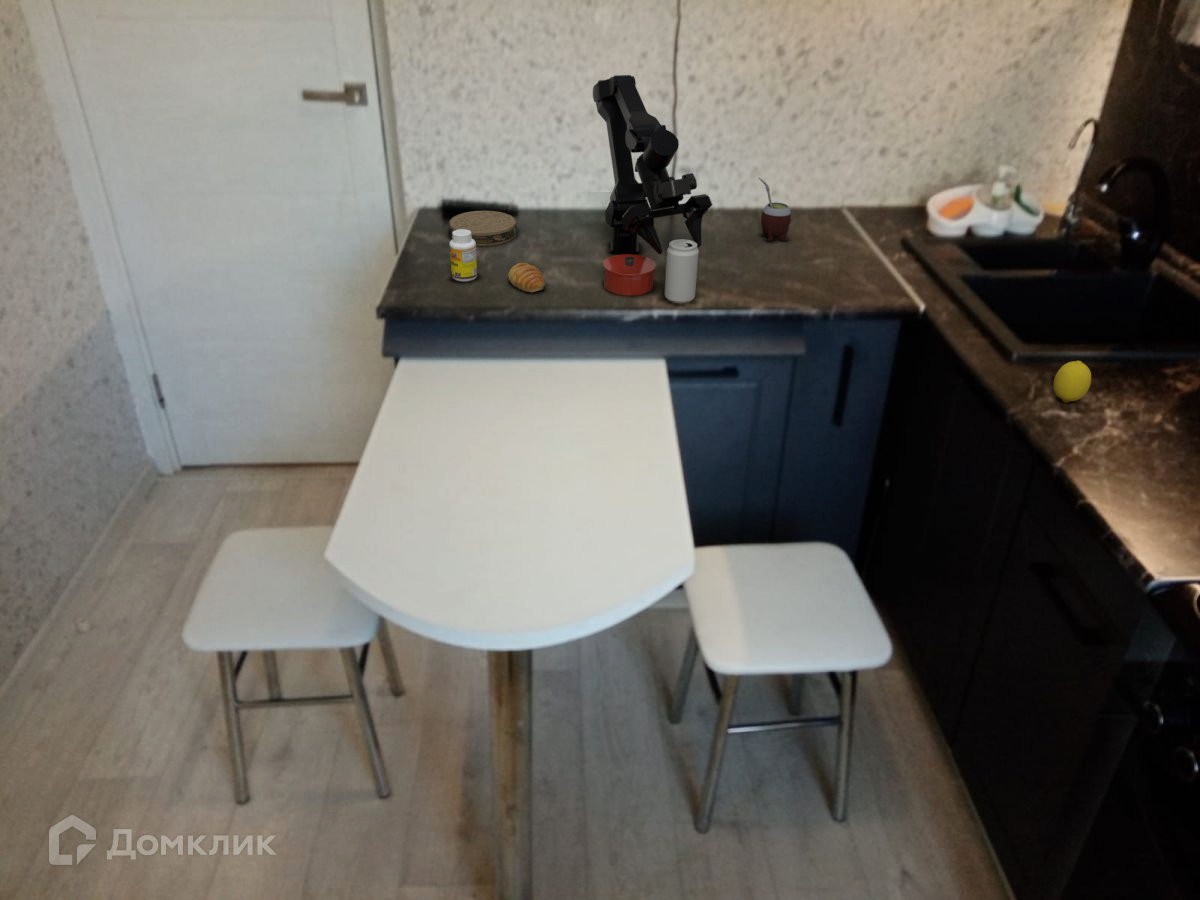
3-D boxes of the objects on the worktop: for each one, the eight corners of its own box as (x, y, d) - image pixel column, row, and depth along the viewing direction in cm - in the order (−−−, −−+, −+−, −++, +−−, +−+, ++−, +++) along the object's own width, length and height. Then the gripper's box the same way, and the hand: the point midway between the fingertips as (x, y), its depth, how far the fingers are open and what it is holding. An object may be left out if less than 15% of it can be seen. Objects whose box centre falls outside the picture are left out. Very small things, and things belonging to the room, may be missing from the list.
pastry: (553, 290, 193) (553, 273, 191) (524, 297, 190) (524, 280, 188) (532, 275, 199) (532, 258, 197) (504, 281, 196) (504, 264, 194)
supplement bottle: (448, 274, 199) (445, 229, 193) (473, 271, 201) (470, 226, 195) (456, 284, 194) (452, 238, 189) (481, 280, 196) (478, 234, 191)
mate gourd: (792, 236, 223) (801, 175, 214) (779, 246, 217) (788, 183, 209) (764, 230, 226) (771, 169, 218) (750, 239, 220) (758, 177, 212)
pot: (599, 278, 199) (599, 258, 196) (644, 274, 201) (645, 255, 199) (611, 297, 190) (612, 277, 188) (659, 293, 193) (660, 273, 190)
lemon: (1041, 394, 159) (1055, 353, 155) (1072, 393, 160) (1086, 353, 156) (1057, 410, 155) (1072, 369, 150) (1088, 410, 155) (1104, 368, 151)
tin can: (480, 218, 229) (480, 206, 228) (529, 232, 222) (529, 220, 220) (436, 235, 218) (435, 223, 217) (485, 250, 211) (485, 238, 209)
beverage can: (692, 306, 187) (697, 250, 181) (662, 303, 188) (665, 247, 182) (696, 294, 193) (701, 239, 186) (666, 291, 194) (669, 236, 187)
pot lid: (597, 260, 197) (597, 251, 196) (646, 256, 199) (647, 247, 198) (610, 280, 188) (611, 270, 187) (662, 276, 190) (663, 266, 189)
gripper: (630, 165, 176) (656, 239, 174) (711, 154, 184) (737, 225, 182) (610, 193, 186) (634, 263, 184) (687, 182, 194) (711, 249, 192)
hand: (680, 249), depth 185 cm, fingers open, 9 cm apart
